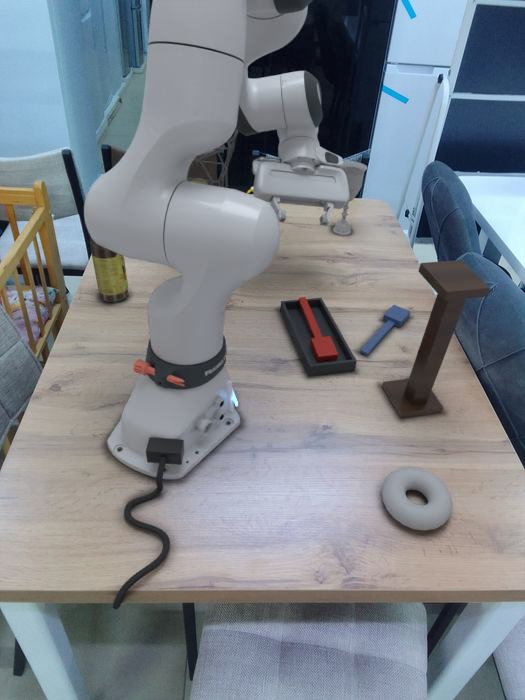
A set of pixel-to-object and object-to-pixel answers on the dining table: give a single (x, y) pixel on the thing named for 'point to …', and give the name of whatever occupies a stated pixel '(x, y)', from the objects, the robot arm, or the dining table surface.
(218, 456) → the dining table surface
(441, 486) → the donut
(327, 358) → the red spoon
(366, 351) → the blue spoon
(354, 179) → the chalice
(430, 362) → the brown stand
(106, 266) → the sauce bottle
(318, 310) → the tray
